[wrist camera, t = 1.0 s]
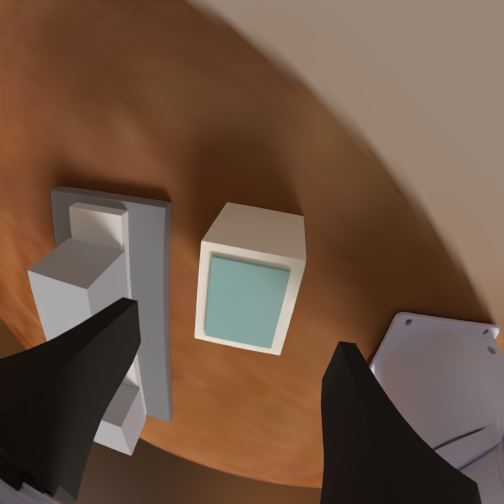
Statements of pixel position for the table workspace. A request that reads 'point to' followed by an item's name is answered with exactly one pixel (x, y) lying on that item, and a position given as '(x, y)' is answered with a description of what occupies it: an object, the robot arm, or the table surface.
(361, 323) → the table surface
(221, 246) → the cream module
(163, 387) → the board
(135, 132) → the table surface
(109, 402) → the robot arm
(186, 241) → the table surface
